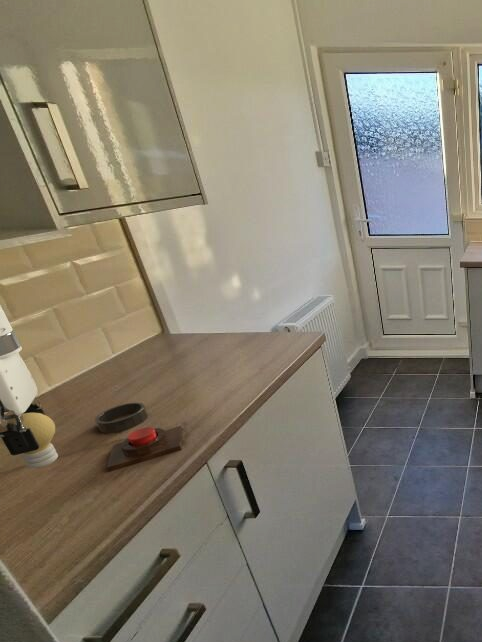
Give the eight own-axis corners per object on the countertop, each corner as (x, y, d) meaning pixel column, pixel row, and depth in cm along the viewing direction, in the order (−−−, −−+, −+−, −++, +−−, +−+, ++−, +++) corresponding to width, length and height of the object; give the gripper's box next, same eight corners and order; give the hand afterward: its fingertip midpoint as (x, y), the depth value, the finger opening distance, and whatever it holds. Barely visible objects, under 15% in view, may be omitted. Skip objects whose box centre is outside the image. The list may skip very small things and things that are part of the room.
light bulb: (28, 480, 70) (0, 431, 66) (11, 468, 73) (-17, 421, 69) (76, 457, 76) (54, 411, 72) (59, 448, 78) (36, 402, 74)
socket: (99, 442, 93) (91, 427, 91) (105, 424, 99) (99, 410, 97) (148, 429, 97) (142, 414, 95) (151, 412, 104) (145, 398, 102)
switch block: (108, 472, 84) (102, 460, 82) (115, 449, 90) (109, 438, 89) (181, 450, 90) (177, 438, 89) (183, 429, 97) (178, 419, 95)
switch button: (129, 449, 86) (126, 442, 86) (132, 438, 90) (129, 431, 89) (156, 441, 89) (153, 434, 88) (157, 431, 92) (155, 424, 91)
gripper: (-31, 334, 70) (17, 423, 77) (-83, 375, 57) (-19, 478, 64) (33, 325, 74) (73, 411, 81) (-2, 362, 61) (49, 459, 68)
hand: (32, 439), depth 72 cm, fingers closed on light bulb, 6 cm apart
